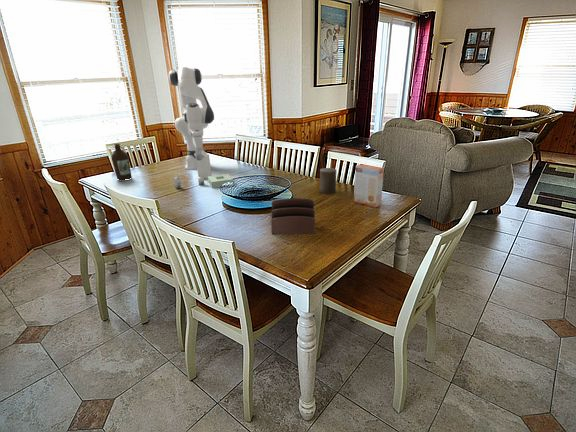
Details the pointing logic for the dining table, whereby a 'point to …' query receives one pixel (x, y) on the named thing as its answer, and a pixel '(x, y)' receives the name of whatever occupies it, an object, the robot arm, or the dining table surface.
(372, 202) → the cracker box
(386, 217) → the dining table surface
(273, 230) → the letter holder
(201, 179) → the short pin
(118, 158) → the olive oil
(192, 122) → the robot arm
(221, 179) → the socket block
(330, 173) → the pillar candle
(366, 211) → the dining table surface
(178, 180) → the medium pin
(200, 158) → the tall pin
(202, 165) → the milk carton
